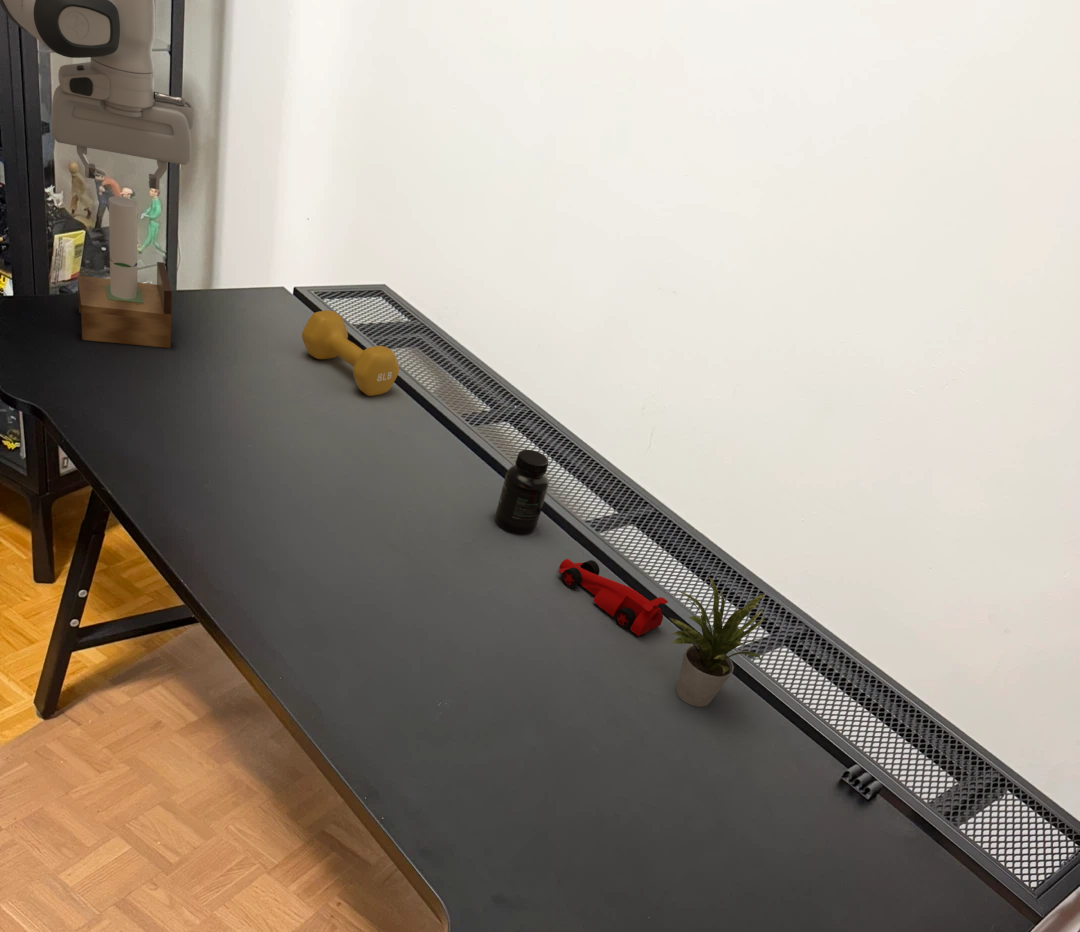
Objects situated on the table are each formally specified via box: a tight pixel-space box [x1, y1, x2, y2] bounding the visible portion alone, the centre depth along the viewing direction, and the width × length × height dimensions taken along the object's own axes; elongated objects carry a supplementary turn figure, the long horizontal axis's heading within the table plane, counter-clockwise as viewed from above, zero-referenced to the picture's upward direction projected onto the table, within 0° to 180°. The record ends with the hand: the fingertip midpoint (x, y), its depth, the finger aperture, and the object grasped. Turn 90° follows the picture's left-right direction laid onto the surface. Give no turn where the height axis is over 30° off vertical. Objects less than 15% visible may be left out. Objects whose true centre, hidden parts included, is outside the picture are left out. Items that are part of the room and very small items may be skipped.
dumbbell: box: [301, 310, 400, 397], centre depth 184 cm, size 19×9×8 cm, turn 47°
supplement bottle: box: [494, 449, 550, 536], centre depth 159 cm, size 7×7×12 cm
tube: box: [108, 195, 138, 299], centre depth 168 cm, size 4×4×15 cm
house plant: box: [669, 576, 767, 708], centre depth 137 cm, size 14×14×16 cm
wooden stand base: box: [77, 261, 173, 349], centre depth 174 cm, size 14×12×10 cm
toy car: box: [557, 558, 669, 637], centre depth 152 cm, size 6×18×5 cm, turn 47°
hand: (122, 182), depth 162 cm, fingers open, 8 cm apart
